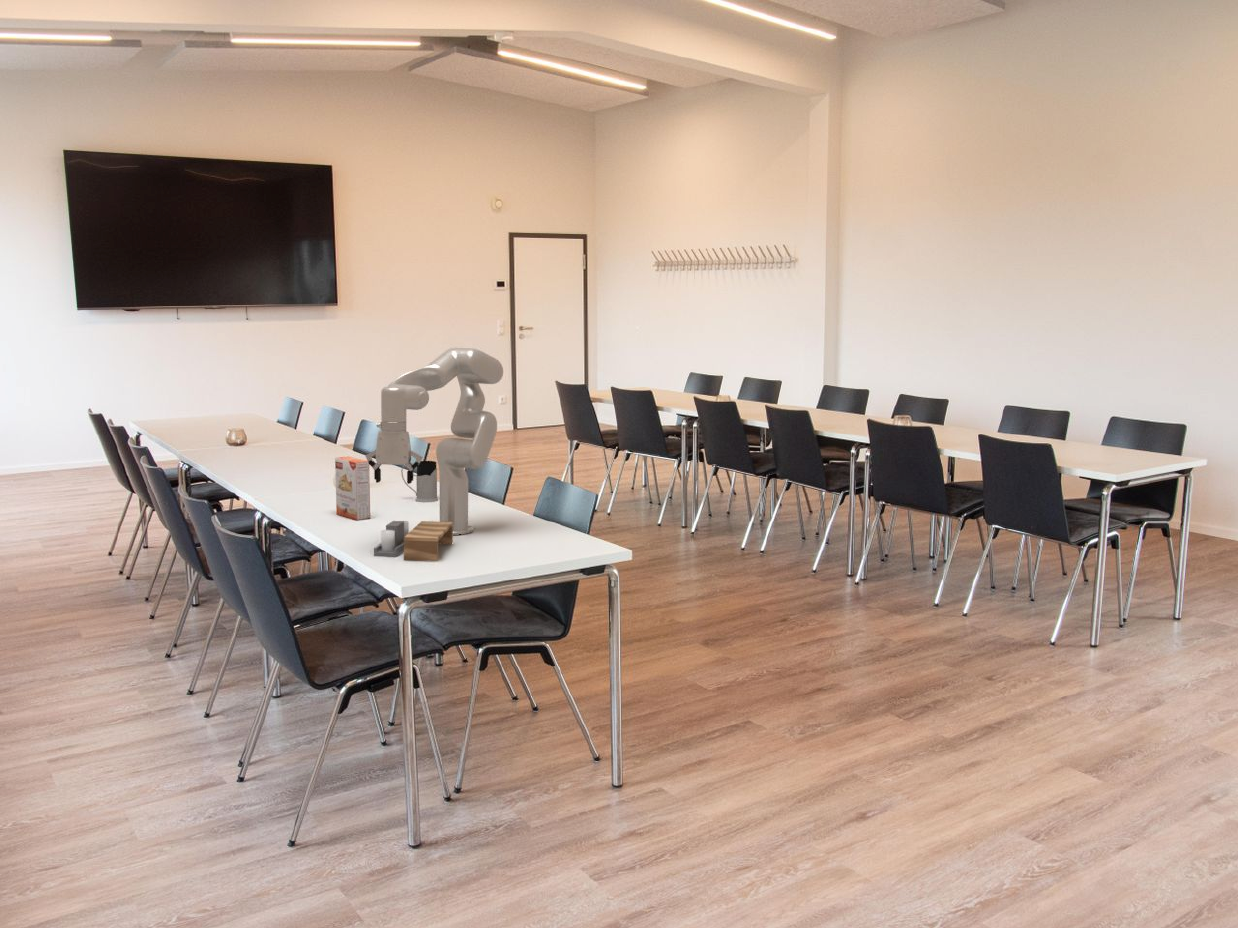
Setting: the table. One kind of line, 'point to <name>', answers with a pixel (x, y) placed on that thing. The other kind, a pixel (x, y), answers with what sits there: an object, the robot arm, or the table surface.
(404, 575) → the table surface
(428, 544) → the curved wooden channel
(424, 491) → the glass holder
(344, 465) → the cracker box
